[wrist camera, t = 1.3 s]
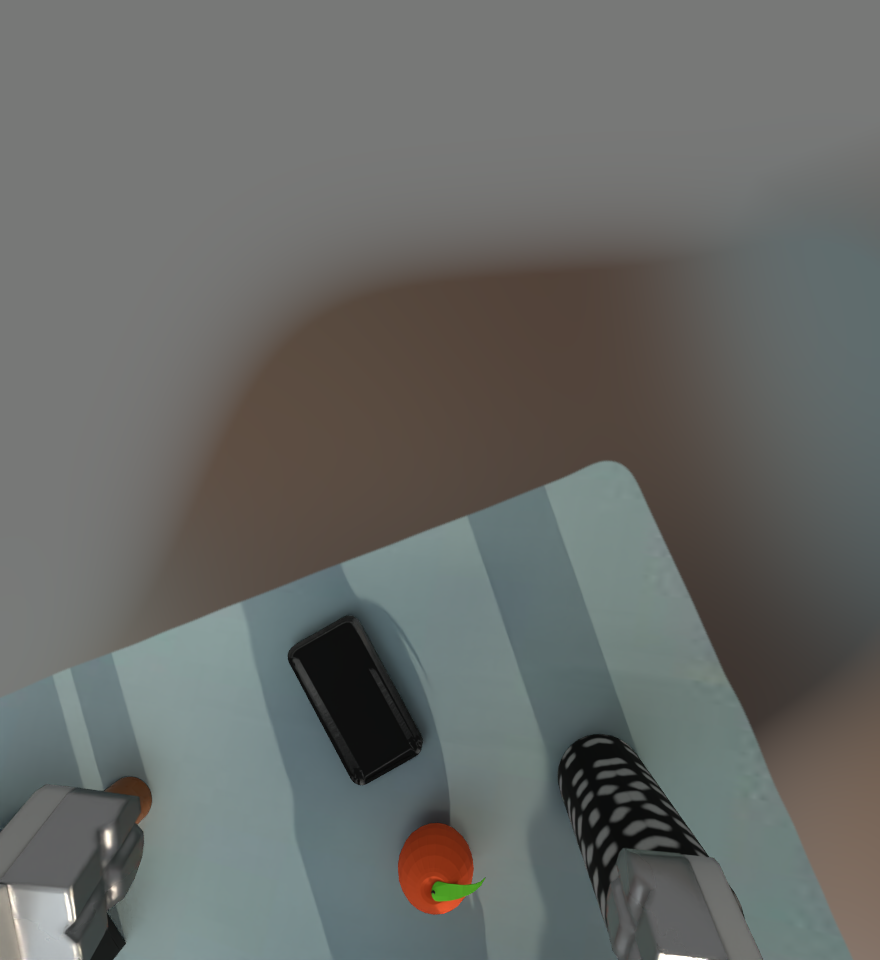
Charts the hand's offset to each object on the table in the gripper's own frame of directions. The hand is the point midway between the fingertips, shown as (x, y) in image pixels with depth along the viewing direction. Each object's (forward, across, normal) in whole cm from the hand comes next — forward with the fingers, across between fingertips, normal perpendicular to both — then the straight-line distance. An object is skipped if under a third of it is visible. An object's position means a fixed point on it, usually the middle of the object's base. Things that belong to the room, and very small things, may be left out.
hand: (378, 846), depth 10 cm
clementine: (+34, +5, -42) cm, 55 cm away
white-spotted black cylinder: (+36, +19, -34) cm, 54 cm away
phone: (+39, -5, -30) cm, 50 cm away
